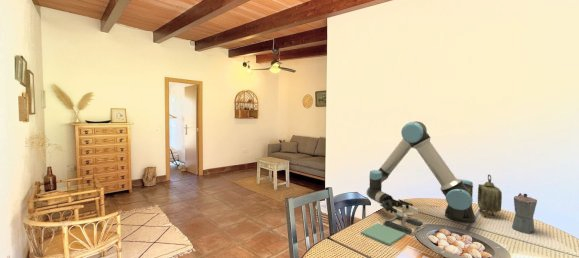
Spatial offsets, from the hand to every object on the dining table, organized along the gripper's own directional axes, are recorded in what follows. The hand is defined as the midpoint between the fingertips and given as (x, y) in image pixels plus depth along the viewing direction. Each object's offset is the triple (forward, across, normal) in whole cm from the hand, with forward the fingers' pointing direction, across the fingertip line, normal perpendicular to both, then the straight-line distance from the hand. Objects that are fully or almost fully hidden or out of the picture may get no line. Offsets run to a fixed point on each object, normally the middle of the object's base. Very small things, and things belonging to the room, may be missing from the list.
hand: (409, 212), depth 139 cm
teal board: (+1, +17, -9) cm, 19 cm away
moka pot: (+16, -58, -10) cm, 61 cm away
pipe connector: (-4, 0, -8) cm, 9 cm away
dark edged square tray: (-5, -1, -9) cm, 11 cm away
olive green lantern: (-4, -60, -10) cm, 61 cm away
